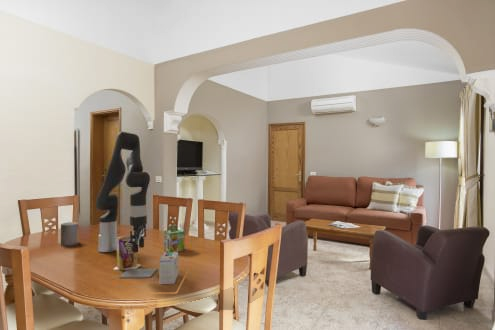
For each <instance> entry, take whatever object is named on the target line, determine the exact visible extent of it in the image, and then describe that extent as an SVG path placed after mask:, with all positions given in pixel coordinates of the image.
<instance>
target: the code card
mask: <svg viewBox="0 0 495 330" xmlns="http://www.w3.org/2000/svg"><path fill="white" fill-rule="evenodd" d="M140 266H141V264H139V263H137V266H133V267H129V268H125V269H120V270H121V271H122V270H124V271H126V270H127V269H139V267H140ZM112 270H113V271H118V270H119V269H118V268H117V266H115V267H114V268H113V269H112ZM120 270H119V271H120Z"/></svg>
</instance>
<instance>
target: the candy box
mask: <svg viewBox="0 0 495 330" xmlns="http://www.w3.org/2000/svg"><path fill="white" fill-rule="evenodd" d="M132 240H133V239H132ZM134 241H135V240H134ZM137 264H138V252H137V253H134V252H133V244H131V243H130V234H129V235H122V236H117V250H116V267H117V268H118V269H119V271H120V269H125V268H129V267H133V266H137Z"/></svg>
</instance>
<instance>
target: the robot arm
mask: <svg viewBox="0 0 495 330" xmlns="http://www.w3.org/2000/svg"><path fill="white" fill-rule="evenodd" d="M139 137H140V136H139V135H138V134H136V133H132V132H126V131H119V132H118V134H117V136H116V139H115V143H114V147H113V150H112V151H113V152H112V154H111V155H112V156H111V158H110V162H109V164H108V167H107V171H106V172H105V175H104V176H105V177H104V180H103V183H102V186H101V188H100V190H99V193H98V194H97V197H96V200H95V201H96V202H95V206H96V208H97V210H99V211H107V212H106V213H104V214H102V215H101V216H100V217H99V234H98V236H97V239H98V240H97V245H98V247H97V249H98V251H97V252H99V253H112V252H114V251H115V252H116V251H117V237H118V228H117V227H118V224H117V222H118V213H119V212H118V210H119V209H118V208H119V207H118V206H119V198H118V196H117V194H115V193H111V192H112V191H113V190H114V189H116V187H118V186H119V185H120V183H122V181H123V180H124V177H125V174H126V177H125V183H126V186H127V187H130V188H140V190H138V191H135V192H132V193H130V195H129V196H130V197H129V202H130V204H129V225H130V227H131V226H132V230H130V234H129V235H130V243H131V244H133V252H134V253H137V254H138V253H139V249H141V248H142V249H143V248H144V247H145V238H146V237H147V228H146V227H147V225H148V214H147V213H148V209H147V208H148V207H147V193H148V188H149V186H150V181H151V177H150V174H149V173H148V172H146V171H144V166H143V163H142V160H141V142H140V138H139ZM122 150H126V151H131V153H129V154H128V156H127V158H126V163H124V160H123V157H122V155H121V151H122ZM126 170H127V173H126ZM132 239H133V240H132ZM134 240H135V241H134Z"/></svg>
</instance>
